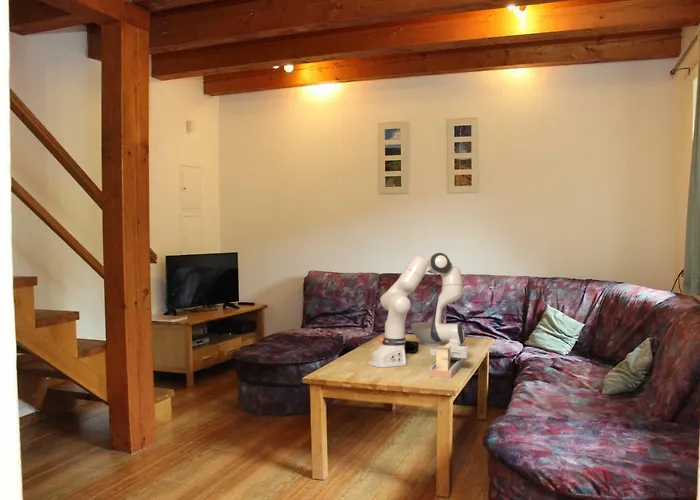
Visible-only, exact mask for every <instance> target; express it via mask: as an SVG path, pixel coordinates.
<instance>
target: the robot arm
mask: <svg viewBox="0 0 700 500" xmlns="http://www.w3.org/2000/svg"><path fill="white" fill-rule="evenodd" d="M427 273H429V274H434V275H437V274H439V275H440V276H441V281H442V282H441V283H442V285H441V286H442V287H441V292H440V294H438V295H437V297H436V298H435V303H434V311H433V317H432V321H431V322H432V327H431V331H430V335H431V338H432V339H433V340H434V341H436V342H442V341H443V342H447V343H446V344H445V345H444V346H443V347H451V348H450V359H460V358H463V360H464V359H465V360H466V359H468V357H469V349H468V346H467V345H464V342H465V339H466V333H465V332H466V331H465V329H464V327H463V326H462V325H461V324H460V323H446V324H441V323H442V322H441V321H442V313H443V309H444V308H445V307H446V306H447V305H449V304H451V303H453V302H456V301H457V300H459V299H460V298H461V297H462V295H463V278H462V272H461V270H460V268H459V267H458V266H455V265H453V264H452V262H451V260H450V258H449V257H448V255H447V254H445V253H442V252H435V253H433V254H431V255H430V256H428V257H425V256H423V255H420V254H419V255H415V256H414V257H413V258H411V260H410V261H409V262H408V263H407V265H406V266H405V268H404V270H403V271H402V272H401V274H400V276H399V277H398V278H397V280H396V281H395V282H394V283H393V284H392V285H391V287H389V288H388V290H387V291H386V292H384V293H383V294H382V295H381V296H380V305H381V307H383V309H385V310H386V311H388V314H387V317H386V321H385V322H384V337H383V338H381V337H379V338H378V342H380V343H381V345H380V346H378V347H377V348H376V349H375V350H374V351H373V352H372V354H371V355H372V356H371V360H368V361H367V364H368V365H370V366H371V367H377V368H390V367H402V366H403V367H404V366H407V364H408V361H407V353H405V341H406V336H405V335H406V333H405V332H406V331H405V330H406V320H407V319H406V318H407V316H408V313H409V310H410V309H411V301H410V299H409V298H408V296H409V295H410V294H411V293H413V292H415V290H416V289H417V288H418V286H419V284H420V283H421V281H422V279H423V277H424V276H425V275H426V274H427ZM443 342H442V343H443ZM437 347H438V346H435V347H434V346H433V347H432V348H430V349H429V355H430V356H431V357H436V348H437Z"/></svg>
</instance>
